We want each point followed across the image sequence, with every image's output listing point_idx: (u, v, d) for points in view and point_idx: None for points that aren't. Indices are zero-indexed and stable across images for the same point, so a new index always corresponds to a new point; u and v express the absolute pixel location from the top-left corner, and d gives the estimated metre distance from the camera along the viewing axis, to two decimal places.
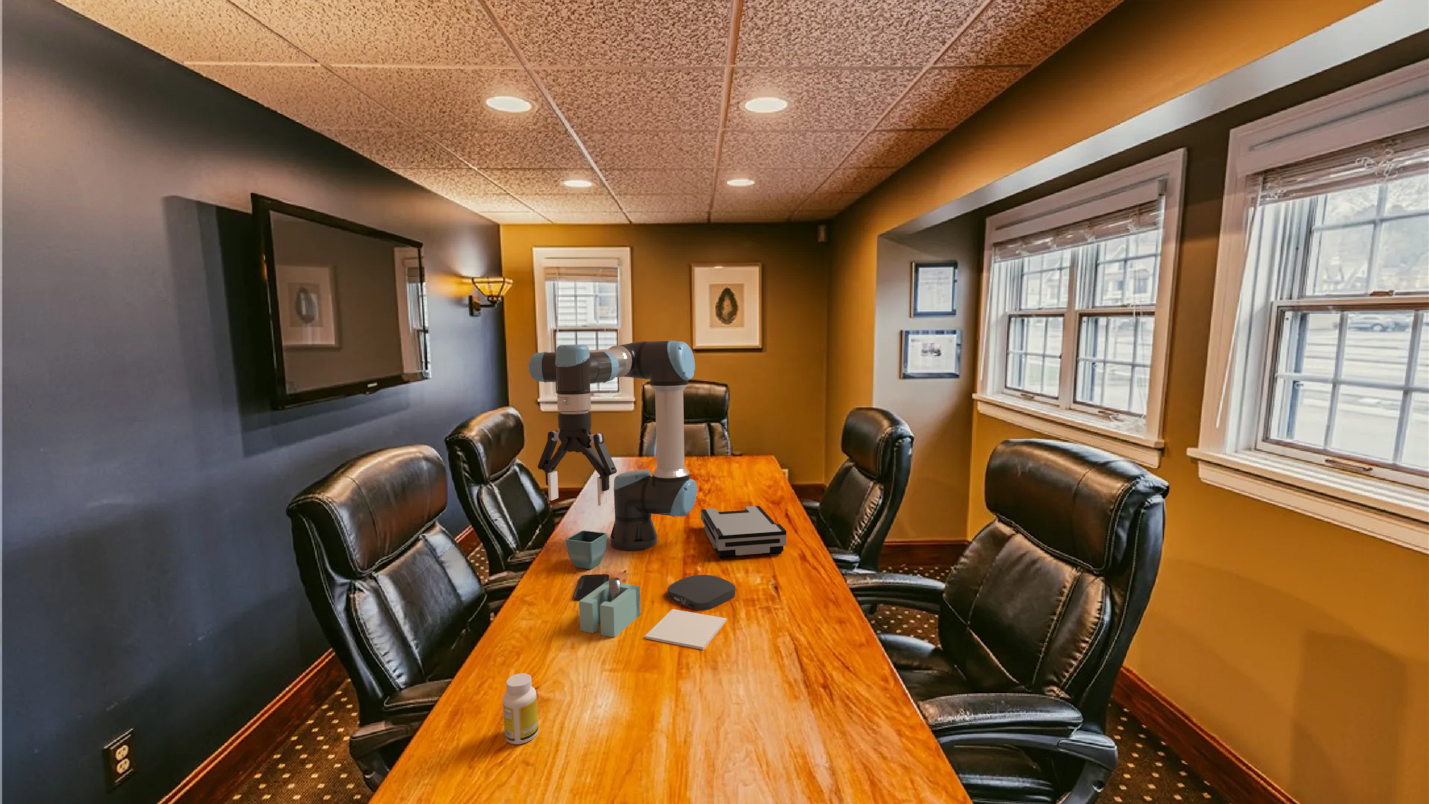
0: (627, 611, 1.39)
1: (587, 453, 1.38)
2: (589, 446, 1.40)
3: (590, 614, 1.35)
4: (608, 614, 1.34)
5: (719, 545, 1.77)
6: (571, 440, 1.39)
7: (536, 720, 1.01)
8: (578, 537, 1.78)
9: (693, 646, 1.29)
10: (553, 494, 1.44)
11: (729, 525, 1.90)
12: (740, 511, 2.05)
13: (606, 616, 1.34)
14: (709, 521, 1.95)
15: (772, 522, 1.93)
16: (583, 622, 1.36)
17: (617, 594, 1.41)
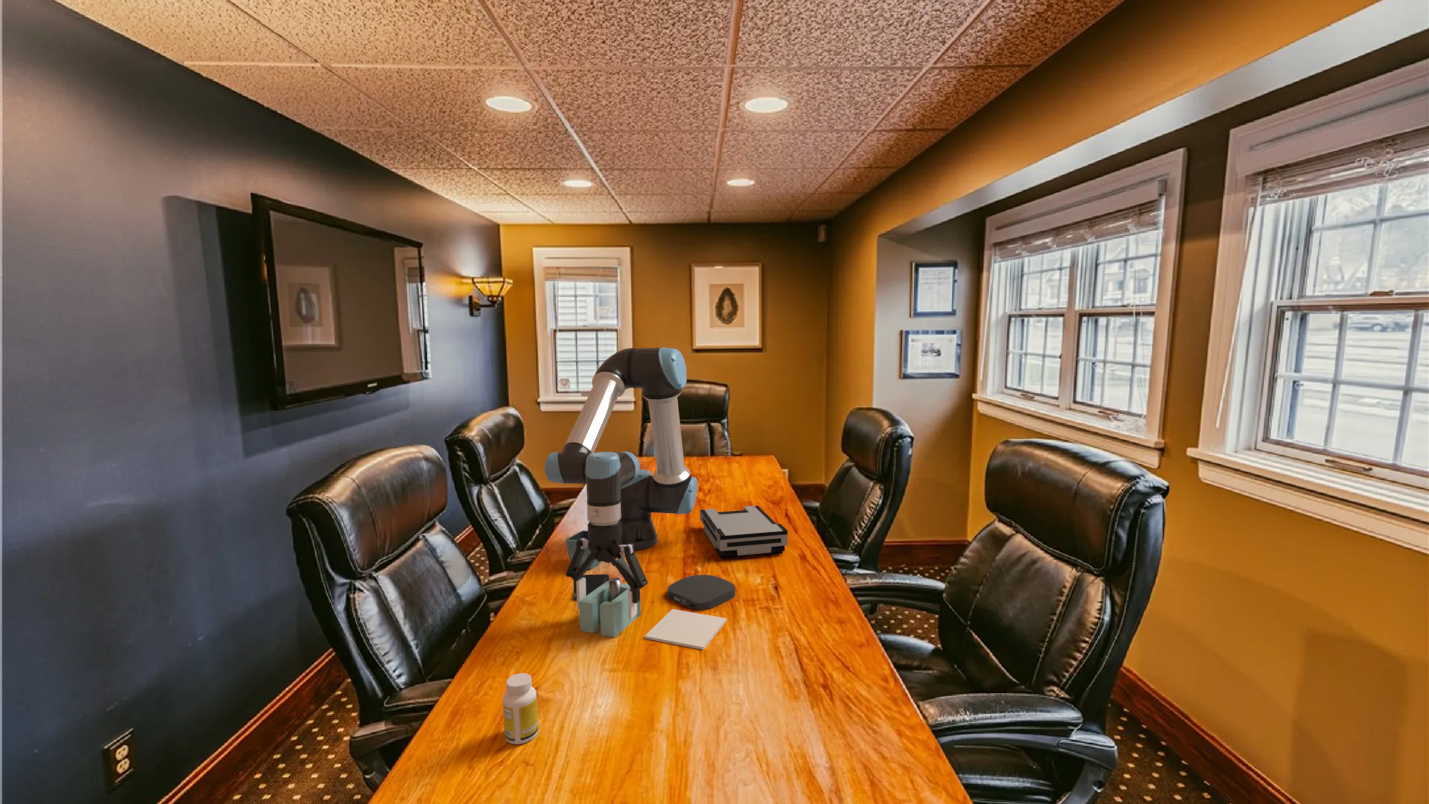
0: (627, 611, 1.39)
1: (617, 564, 1.35)
2: (619, 555, 1.38)
3: (590, 614, 1.35)
4: (608, 614, 1.34)
5: (721, 545, 1.77)
6: (601, 550, 1.36)
7: (536, 720, 1.01)
8: (578, 537, 1.78)
9: (693, 646, 1.29)
10: None
11: (730, 526, 1.90)
12: (739, 511, 2.05)
13: (606, 616, 1.34)
14: (709, 521, 1.94)
15: (772, 522, 1.93)
16: (583, 622, 1.36)
17: (617, 594, 1.41)
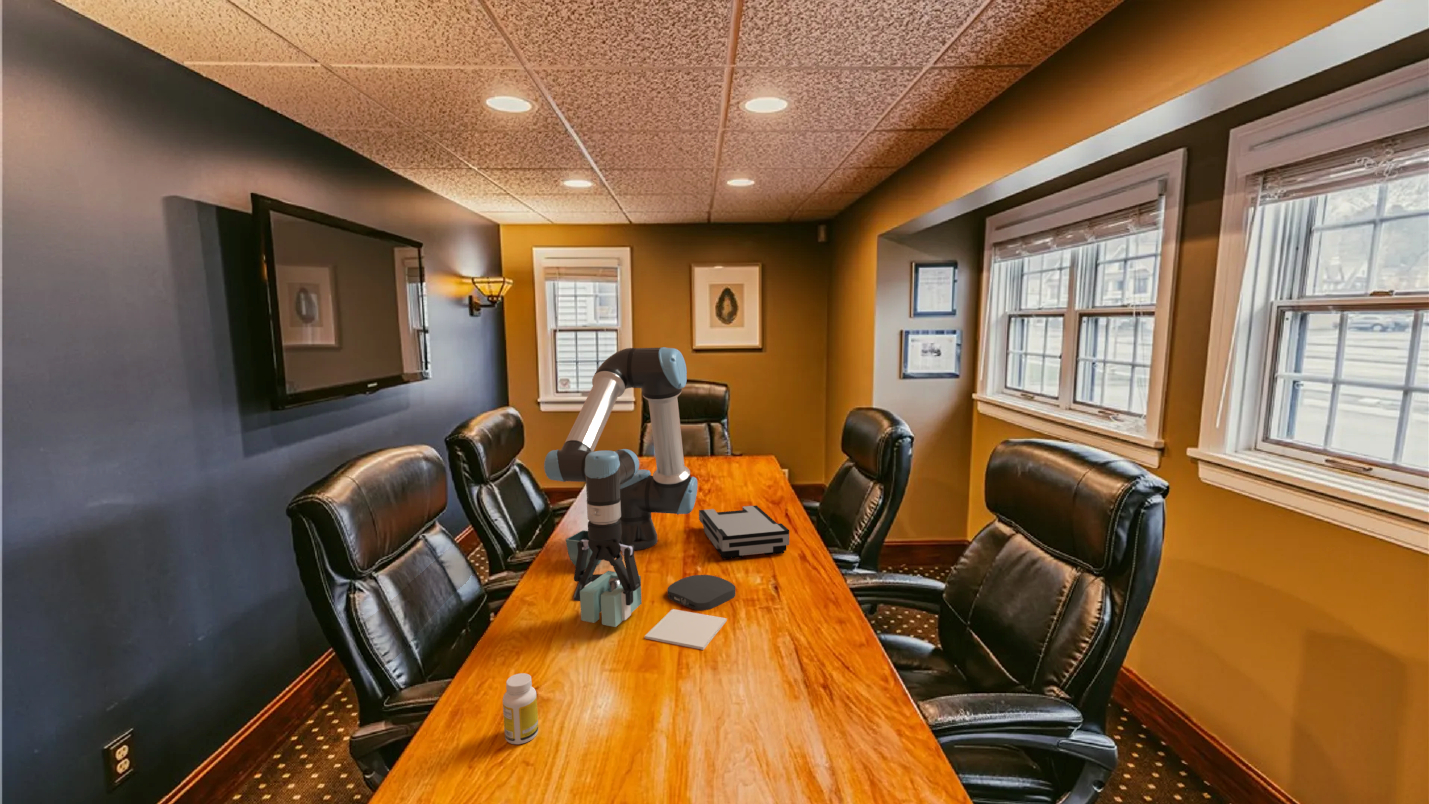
0: None
1: (615, 565, 1.36)
2: (618, 555, 1.38)
3: (591, 604, 1.36)
4: (609, 604, 1.34)
5: (723, 546, 1.77)
6: (601, 548, 1.37)
7: (536, 720, 1.01)
8: (578, 537, 1.78)
9: (693, 646, 1.29)
10: None
11: (731, 526, 1.90)
12: (739, 511, 2.05)
13: (607, 606, 1.34)
14: (710, 522, 1.94)
15: (773, 522, 1.93)
16: (584, 611, 1.37)
17: None
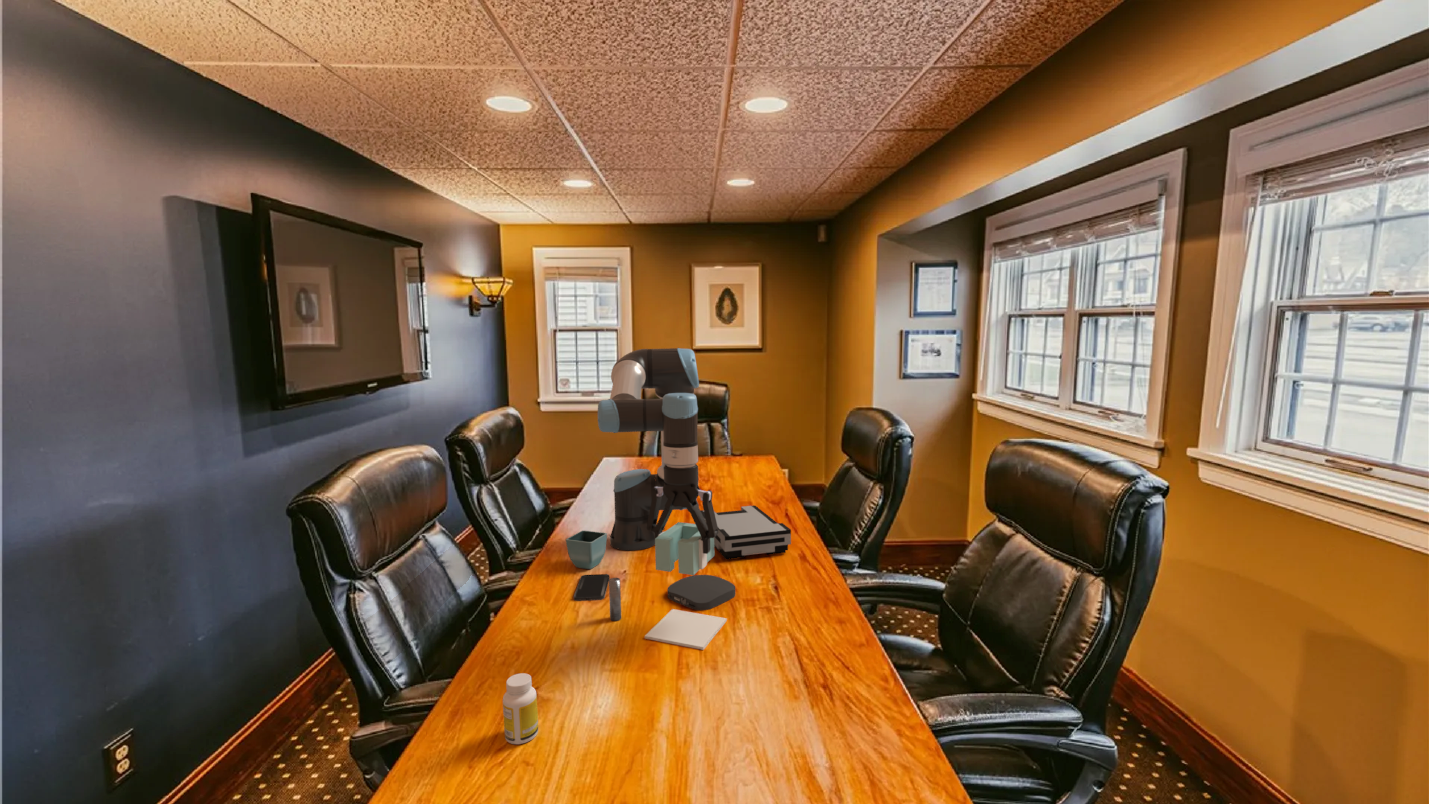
0: None
1: (693, 511, 1.30)
2: (694, 502, 1.32)
3: (667, 552, 1.30)
4: (687, 551, 1.28)
5: (726, 546, 1.77)
6: (678, 493, 1.31)
7: (536, 720, 1.01)
8: (578, 537, 1.78)
9: (693, 646, 1.29)
10: None
11: (732, 526, 1.89)
12: (738, 511, 2.05)
13: (684, 553, 1.29)
14: None
15: (773, 521, 1.94)
16: (659, 560, 1.31)
17: (617, 594, 1.41)
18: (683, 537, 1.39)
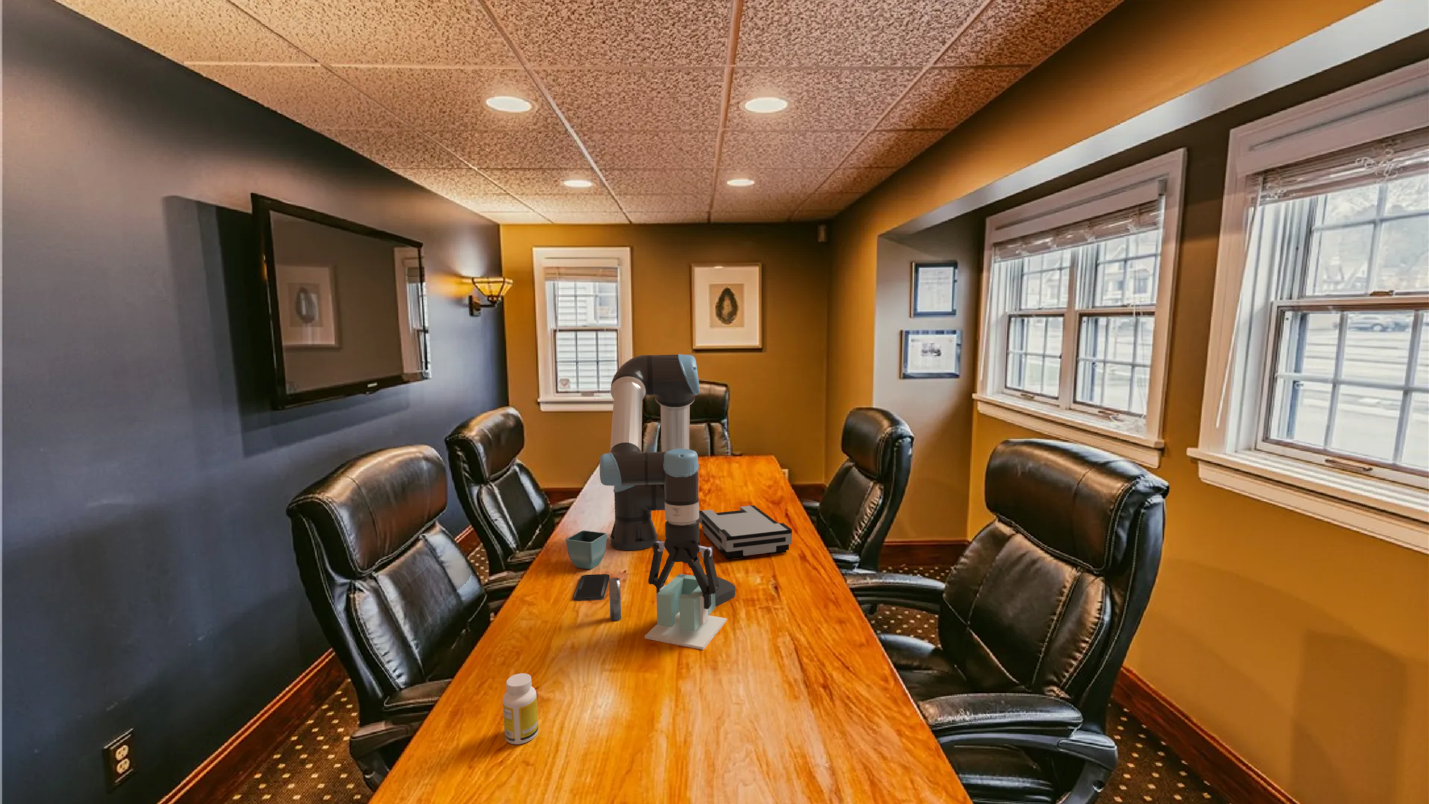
0: None
1: (694, 567, 1.31)
2: (695, 557, 1.34)
3: (668, 607, 1.31)
4: (688, 607, 1.29)
5: (727, 546, 1.76)
6: (679, 549, 1.33)
7: (536, 720, 1.01)
8: (578, 537, 1.78)
9: (693, 646, 1.29)
10: None
11: (732, 526, 1.89)
12: (737, 511, 2.05)
13: (686, 609, 1.30)
14: (710, 522, 1.93)
15: (773, 521, 1.94)
16: (660, 615, 1.32)
17: (617, 594, 1.41)
18: (684, 589, 1.41)
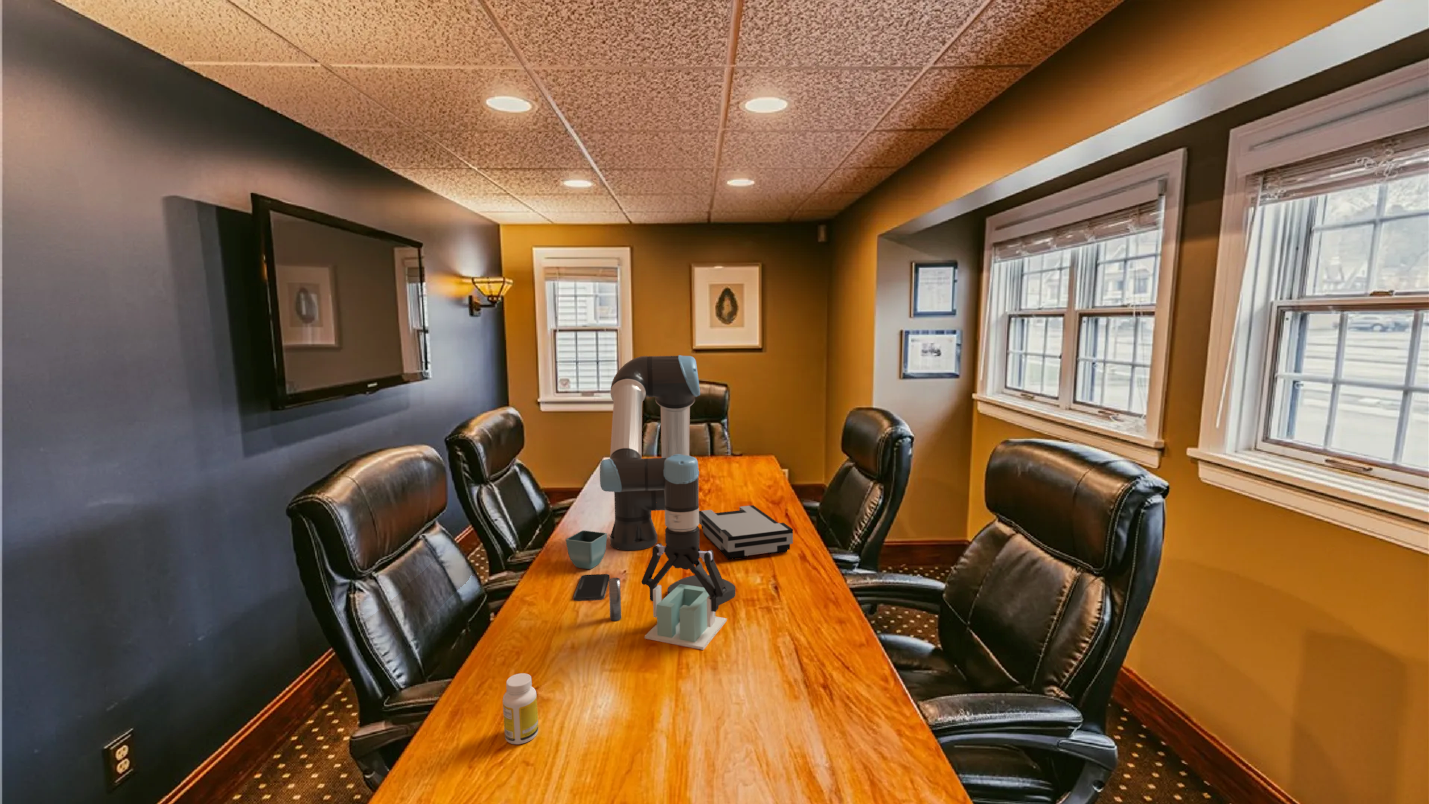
0: (705, 615, 1.35)
1: (696, 572, 1.31)
2: (697, 562, 1.34)
3: (669, 618, 1.32)
4: (688, 618, 1.30)
5: (729, 546, 1.76)
6: (679, 556, 1.33)
7: (536, 720, 1.01)
8: (578, 537, 1.78)
9: (693, 646, 1.29)
10: None
11: (733, 526, 1.89)
12: (737, 511, 2.05)
13: (686, 620, 1.30)
14: (710, 523, 1.93)
15: (773, 521, 1.94)
16: (661, 626, 1.33)
17: (617, 594, 1.41)
18: (684, 600, 1.41)
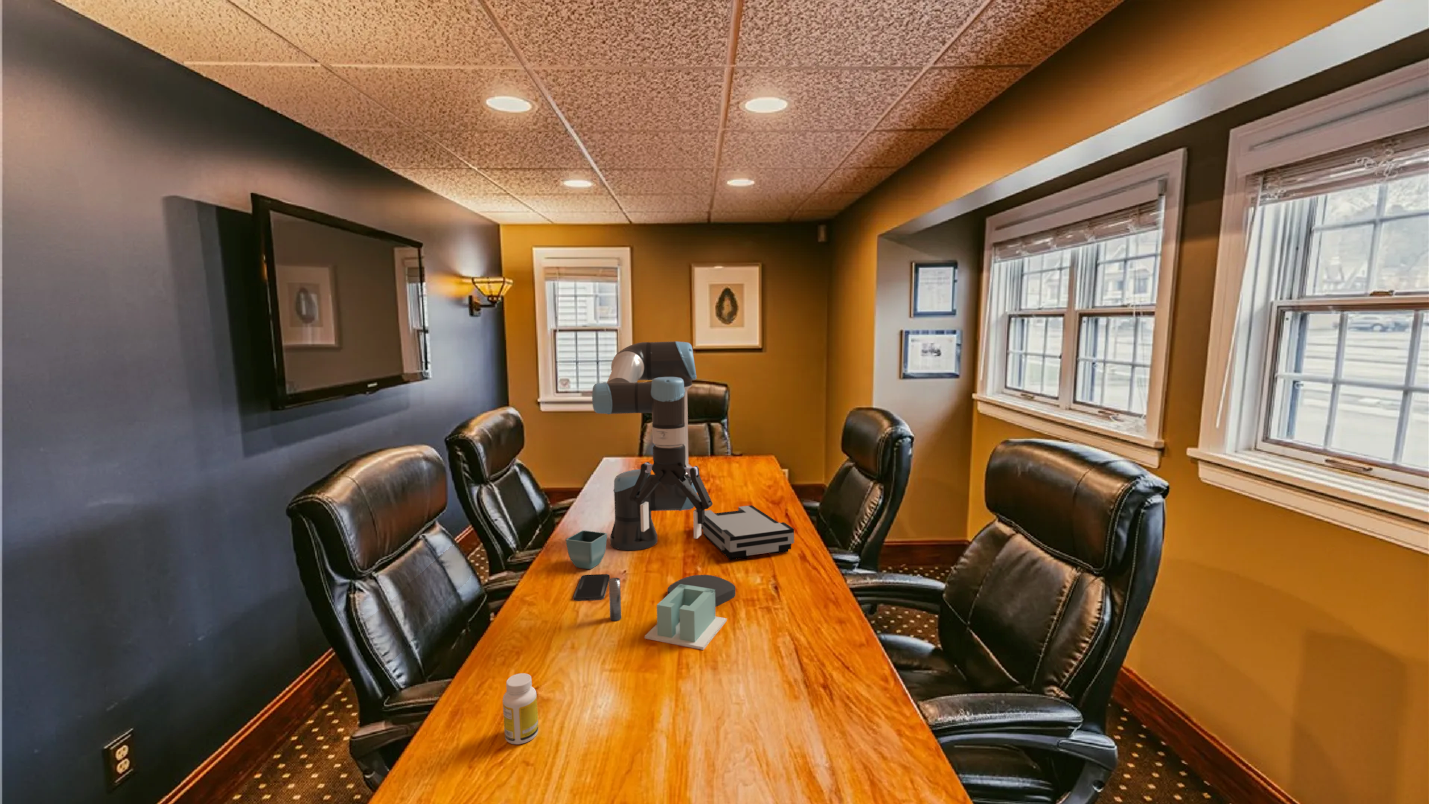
0: (705, 615, 1.35)
1: (683, 486, 1.38)
2: (683, 478, 1.40)
3: (669, 618, 1.32)
4: (688, 618, 1.30)
5: (731, 546, 1.76)
6: (666, 473, 1.39)
7: (536, 720, 1.01)
8: (578, 537, 1.78)
9: (693, 646, 1.29)
10: (645, 525, 1.44)
11: (734, 526, 1.89)
12: (736, 511, 2.05)
13: (686, 620, 1.30)
14: (711, 523, 1.93)
15: (774, 521, 1.94)
16: (661, 626, 1.33)
17: (617, 594, 1.41)
18: (684, 600, 1.41)
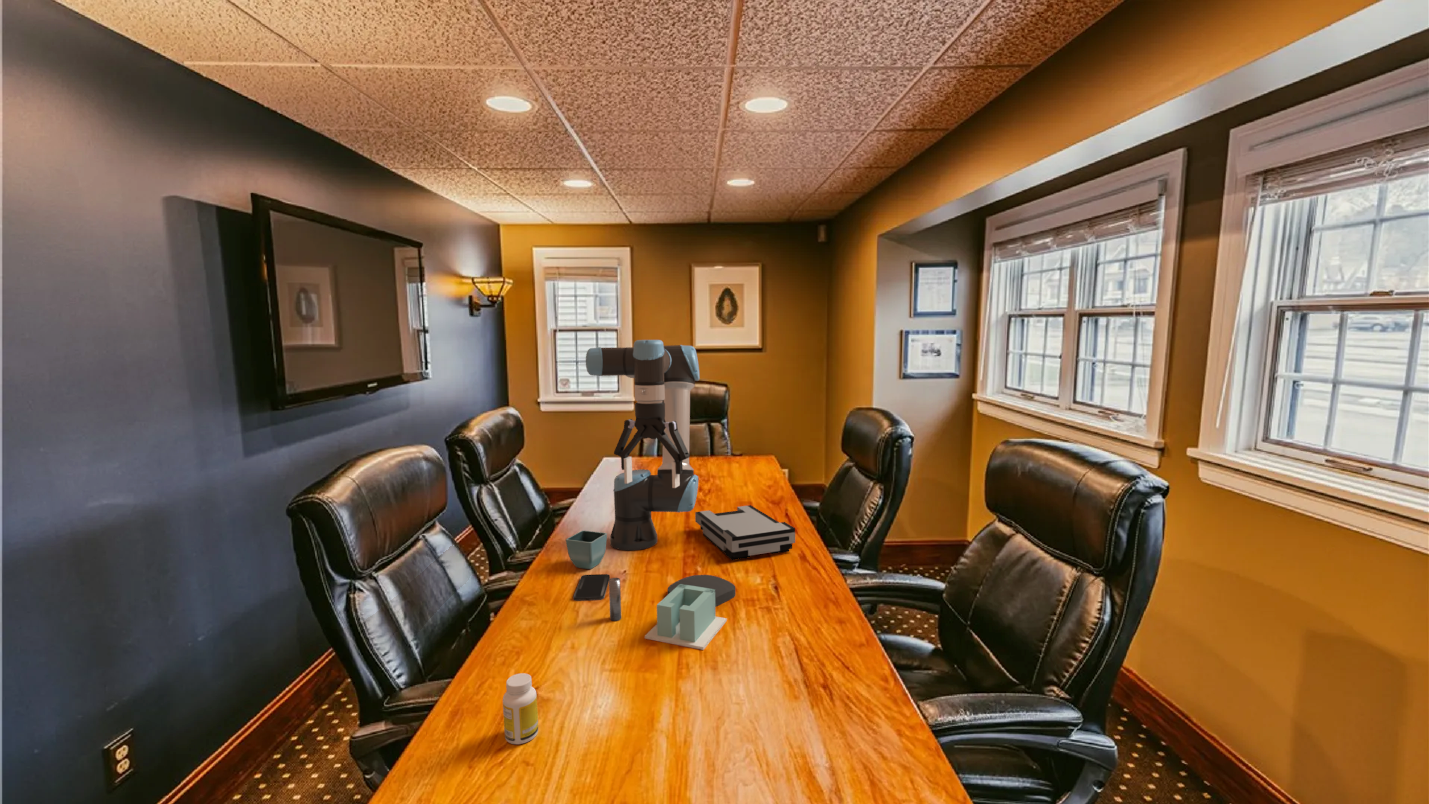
0: (705, 615, 1.35)
1: (662, 439, 1.50)
2: (663, 433, 1.52)
3: (669, 618, 1.32)
4: (688, 618, 1.30)
5: (733, 547, 1.76)
6: (647, 427, 1.51)
7: (536, 720, 1.01)
8: (578, 537, 1.78)
9: (693, 646, 1.29)
10: (629, 477, 1.56)
11: (734, 526, 1.89)
12: (736, 511, 2.05)
13: (686, 620, 1.30)
14: (711, 523, 1.92)
15: (774, 520, 1.94)
16: (661, 626, 1.33)
17: (617, 594, 1.41)
18: (684, 600, 1.41)
